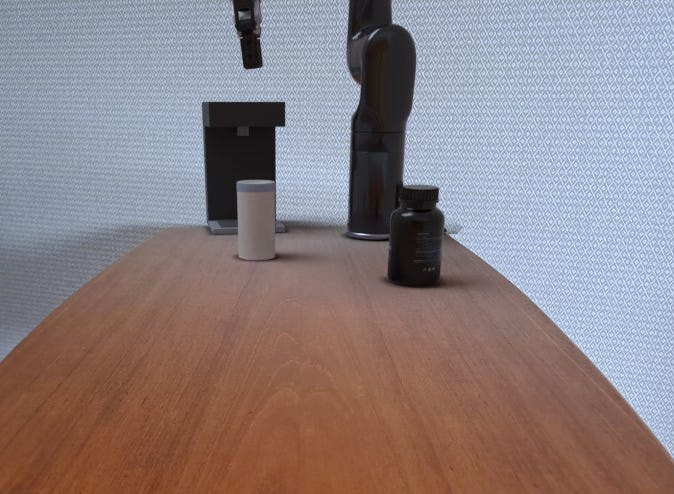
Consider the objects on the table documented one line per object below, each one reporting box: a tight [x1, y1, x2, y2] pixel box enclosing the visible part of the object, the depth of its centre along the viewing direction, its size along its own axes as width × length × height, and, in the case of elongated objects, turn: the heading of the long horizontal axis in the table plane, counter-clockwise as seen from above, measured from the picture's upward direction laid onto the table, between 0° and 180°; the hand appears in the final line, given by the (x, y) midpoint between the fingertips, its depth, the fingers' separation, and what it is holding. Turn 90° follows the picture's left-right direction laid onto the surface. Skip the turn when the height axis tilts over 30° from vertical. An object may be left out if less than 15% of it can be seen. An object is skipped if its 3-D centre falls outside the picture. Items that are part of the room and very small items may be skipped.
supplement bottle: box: [386, 184, 446, 288], centre depth 86 cm, size 7×7×12 cm
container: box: [237, 180, 276, 261], centre depth 100 cm, size 6×6×11 cm
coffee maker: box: [201, 101, 286, 235], centre depth 123 cm, size 13×13×22 cm
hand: (253, 68), depth 91 cm, fingers open, 8 cm apart
